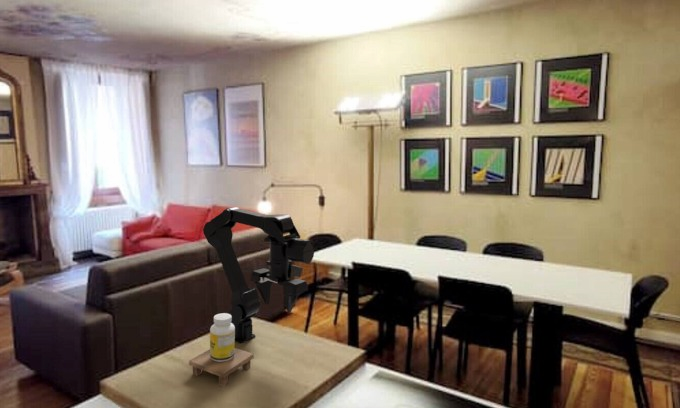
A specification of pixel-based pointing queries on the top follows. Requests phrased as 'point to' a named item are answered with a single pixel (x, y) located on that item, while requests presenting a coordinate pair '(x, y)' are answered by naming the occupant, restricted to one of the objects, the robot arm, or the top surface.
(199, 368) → the small wooden stand
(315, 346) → the top surface
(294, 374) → the top surface
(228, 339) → the pill bottle
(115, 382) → the top surface
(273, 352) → the top surface
